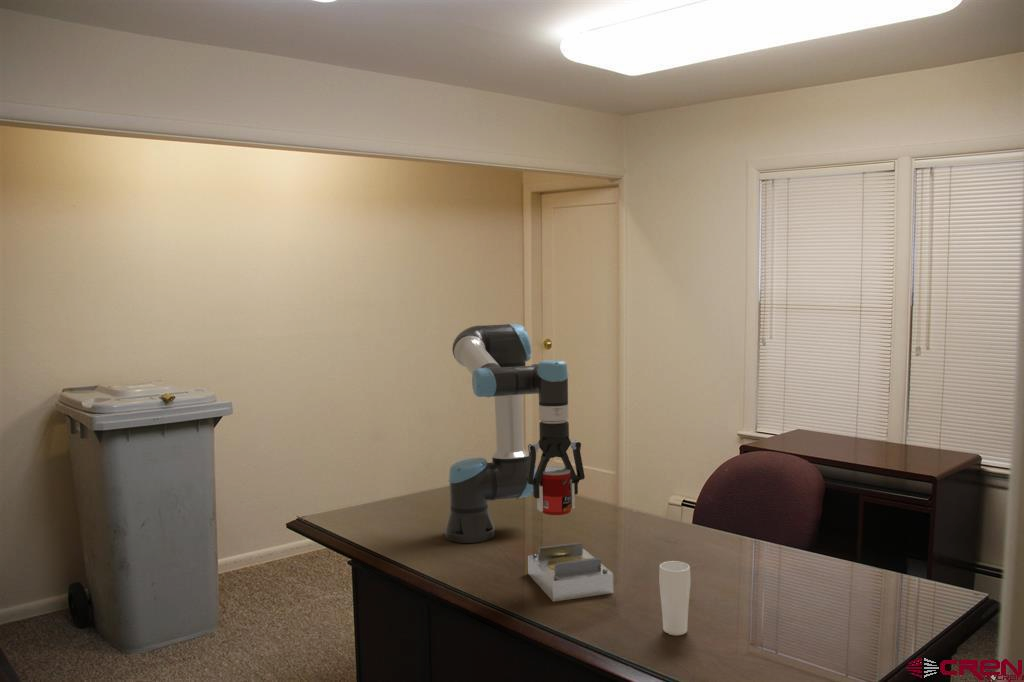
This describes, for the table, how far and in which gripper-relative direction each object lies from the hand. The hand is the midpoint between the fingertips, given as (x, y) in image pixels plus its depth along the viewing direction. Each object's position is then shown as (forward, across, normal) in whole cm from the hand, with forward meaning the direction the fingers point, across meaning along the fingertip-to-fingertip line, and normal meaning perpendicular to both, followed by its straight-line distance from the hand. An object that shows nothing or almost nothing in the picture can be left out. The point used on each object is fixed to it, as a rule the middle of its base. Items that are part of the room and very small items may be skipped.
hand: (556, 508), depth 213 cm
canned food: (+1, 0, 0) cm, 1 cm away
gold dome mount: (+20, +3, -1) cm, 20 cm away
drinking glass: (+21, +16, -35) cm, 44 cm away
